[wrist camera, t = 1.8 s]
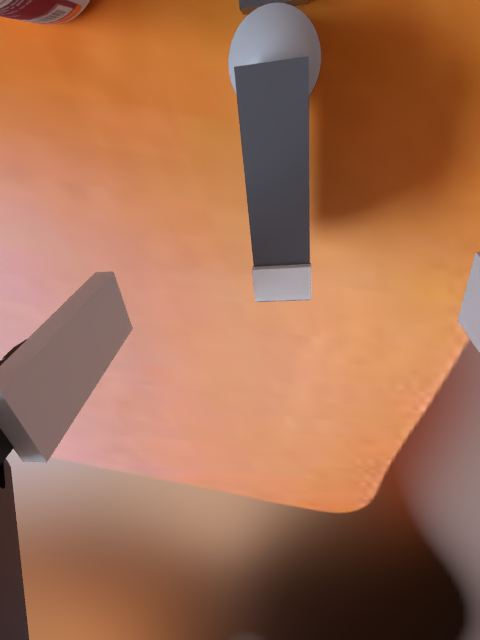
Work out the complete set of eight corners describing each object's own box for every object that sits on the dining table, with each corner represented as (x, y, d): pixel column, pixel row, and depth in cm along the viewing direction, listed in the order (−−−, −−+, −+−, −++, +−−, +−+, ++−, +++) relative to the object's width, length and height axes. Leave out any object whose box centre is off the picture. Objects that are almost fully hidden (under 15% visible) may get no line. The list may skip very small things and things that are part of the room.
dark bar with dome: (238, 26, 17) (205, -6, 10) (314, 14, 17) (330, -28, 10) (257, 238, 23) (244, 305, 16) (313, 234, 23) (323, 302, 16)
